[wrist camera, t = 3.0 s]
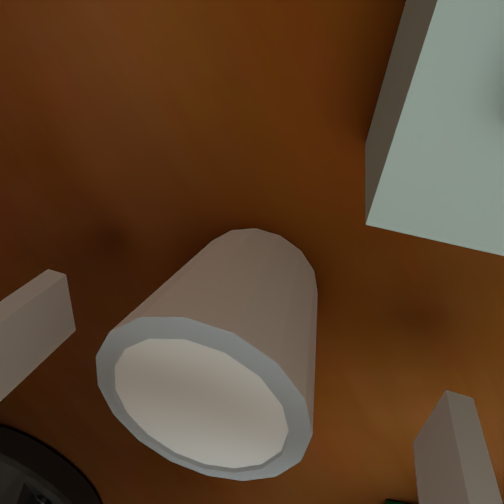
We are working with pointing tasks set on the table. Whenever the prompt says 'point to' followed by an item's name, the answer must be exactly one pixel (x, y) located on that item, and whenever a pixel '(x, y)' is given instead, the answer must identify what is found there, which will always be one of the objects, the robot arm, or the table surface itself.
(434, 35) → the portable stove
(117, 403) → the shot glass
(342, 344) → the table surface
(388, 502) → the milk carton
